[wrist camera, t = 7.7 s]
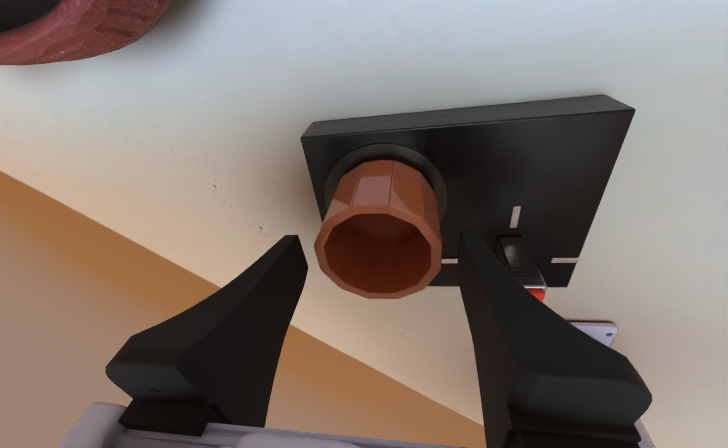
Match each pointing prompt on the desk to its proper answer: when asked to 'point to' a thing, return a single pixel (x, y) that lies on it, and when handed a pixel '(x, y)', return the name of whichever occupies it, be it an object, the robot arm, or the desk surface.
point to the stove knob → (521, 264)
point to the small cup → (381, 232)
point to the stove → (499, 170)
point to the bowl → (72, 28)
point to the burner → (396, 154)
